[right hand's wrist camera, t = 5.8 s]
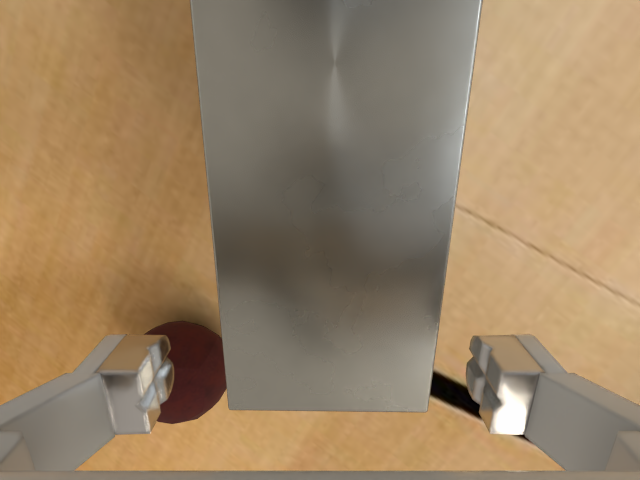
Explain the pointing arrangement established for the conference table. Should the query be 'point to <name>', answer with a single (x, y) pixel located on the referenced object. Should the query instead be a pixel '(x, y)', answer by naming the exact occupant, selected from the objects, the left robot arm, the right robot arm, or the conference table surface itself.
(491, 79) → the conference table surface
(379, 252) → the box
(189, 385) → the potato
